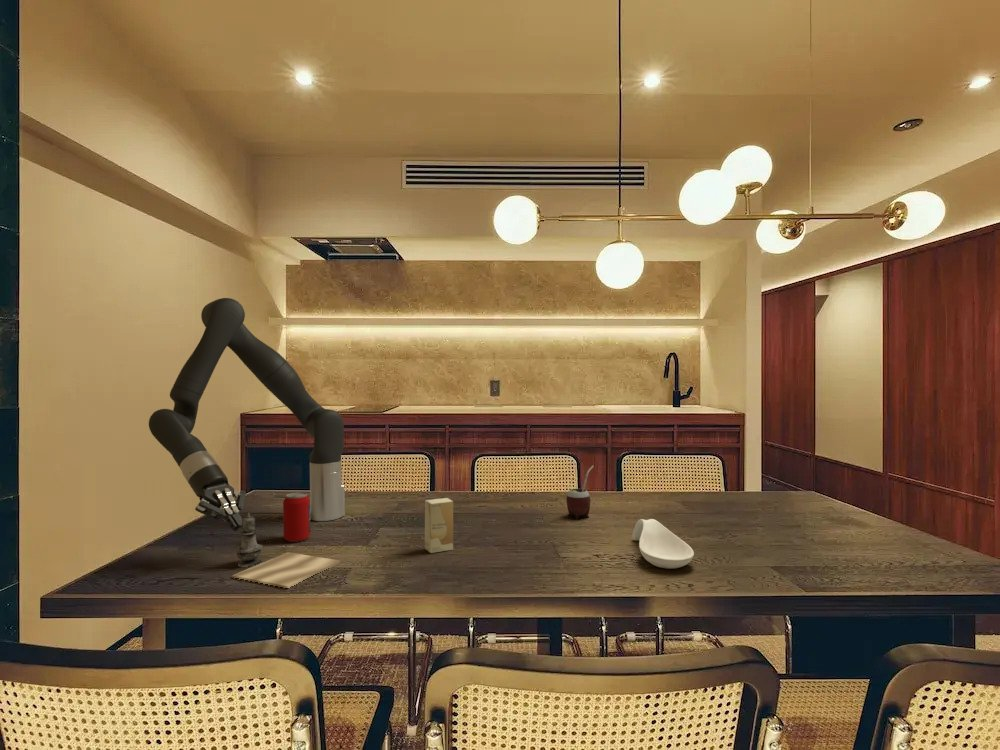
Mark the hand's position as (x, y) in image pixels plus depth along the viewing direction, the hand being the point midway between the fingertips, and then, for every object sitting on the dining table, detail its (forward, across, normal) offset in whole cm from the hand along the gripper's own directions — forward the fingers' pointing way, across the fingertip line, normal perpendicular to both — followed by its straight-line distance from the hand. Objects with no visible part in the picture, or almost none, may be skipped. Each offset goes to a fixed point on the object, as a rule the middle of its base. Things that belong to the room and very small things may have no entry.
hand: (240, 528), depth 127 cm
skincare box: (+34, +25, -22) cm, 47 cm away
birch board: (+16, 0, -5) cm, 17 cm away
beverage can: (+5, +18, +6) cm, 20 cm away
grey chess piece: (+8, 0, +4) cm, 8 cm away
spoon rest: (+69, +40, -57) cm, 99 cm away
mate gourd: (+51, +66, -39) cm, 92 cm away
